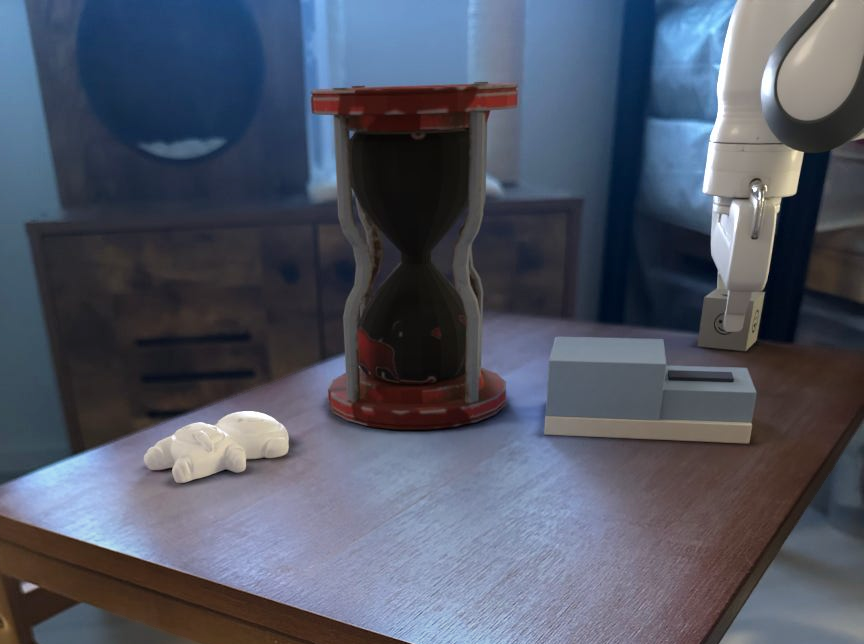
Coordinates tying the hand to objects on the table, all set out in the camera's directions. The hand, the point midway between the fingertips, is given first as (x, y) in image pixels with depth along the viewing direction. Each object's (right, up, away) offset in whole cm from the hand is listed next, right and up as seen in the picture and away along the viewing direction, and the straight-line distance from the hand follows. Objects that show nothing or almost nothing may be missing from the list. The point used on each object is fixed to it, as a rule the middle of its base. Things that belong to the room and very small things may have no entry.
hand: (727, 319), depth 99 cm
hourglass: (-33, -12, -14) cm, 38 cm away
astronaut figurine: (-50, -19, -24) cm, 58 cm away
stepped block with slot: (-14, -16, -20) cm, 29 cm away
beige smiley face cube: (0, -2, +1) cm, 3 cm away
